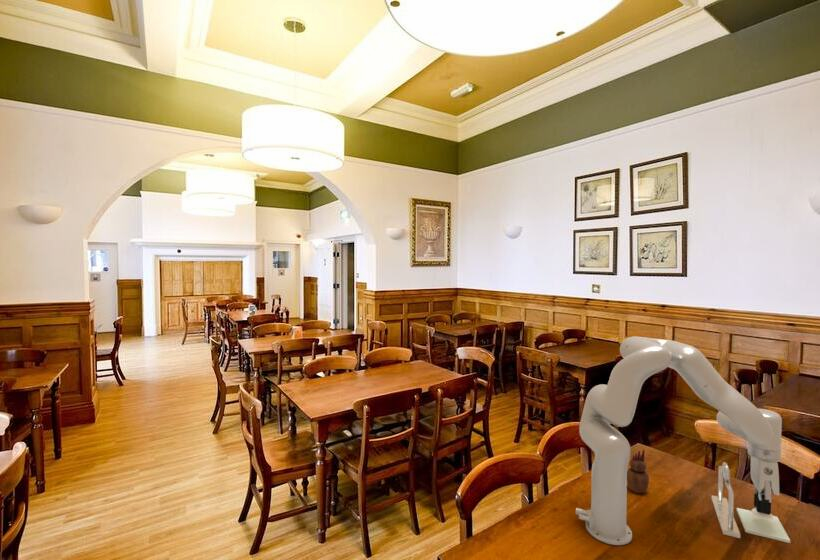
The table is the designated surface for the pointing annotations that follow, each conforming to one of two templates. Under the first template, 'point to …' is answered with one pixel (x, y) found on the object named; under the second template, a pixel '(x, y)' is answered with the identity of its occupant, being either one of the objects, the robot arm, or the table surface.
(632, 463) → the wooden figurine
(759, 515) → the chess piece
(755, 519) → the pad
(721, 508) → the silver metal frame stand
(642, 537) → the table surface
